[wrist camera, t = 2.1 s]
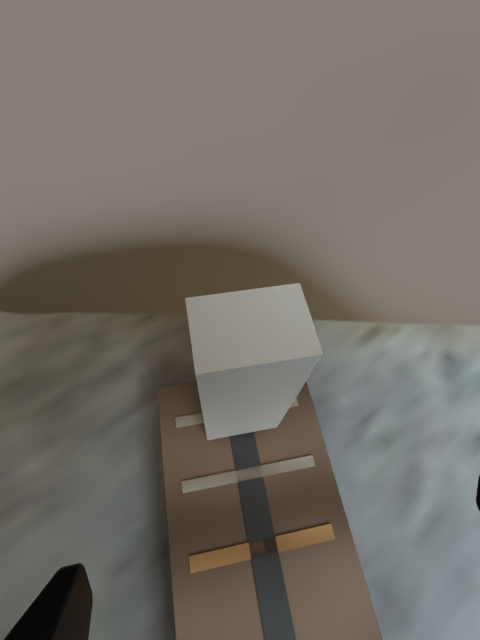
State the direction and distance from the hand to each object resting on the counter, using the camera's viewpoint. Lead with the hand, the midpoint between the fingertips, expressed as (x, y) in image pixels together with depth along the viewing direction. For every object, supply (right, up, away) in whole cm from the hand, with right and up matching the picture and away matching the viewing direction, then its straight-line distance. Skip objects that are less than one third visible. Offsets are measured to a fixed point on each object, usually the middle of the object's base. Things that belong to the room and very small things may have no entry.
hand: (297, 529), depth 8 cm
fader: (-1, 0, +10) cm, 10 cm away
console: (0, -6, +10) cm, 12 cm away
